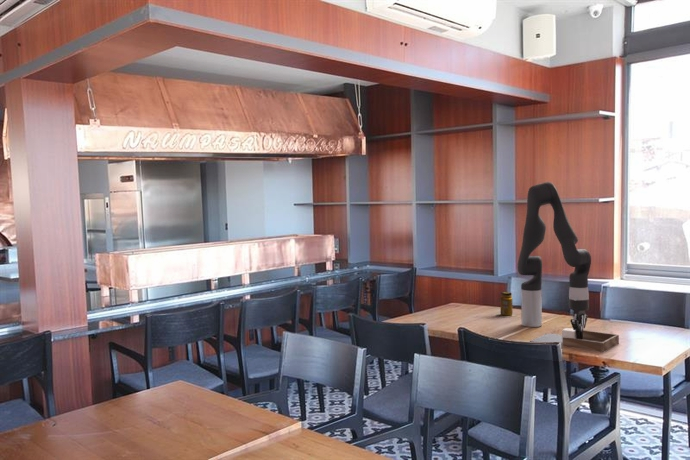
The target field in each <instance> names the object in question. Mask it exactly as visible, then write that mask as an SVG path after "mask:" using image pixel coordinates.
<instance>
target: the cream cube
mask: <svg viewBox="0 0 690 460" xmlns="http://www.w3.org/2000/svg"><path fill="white" fill-rule="evenodd" d="M561 335H562V342H563V337H568V338H574V339H576V331H575V330H573V327H571V328H570V327H565V328H563V329H562V330H561Z"/></svg>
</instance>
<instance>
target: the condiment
mask: <svg viewBox="0 0 690 460" xmlns="http://www.w3.org/2000/svg"><path fill="white" fill-rule="evenodd" d="M512 295H513V294H512V292H510V291H504V292H503V291H502V292H501V296H500V299H499V300H500V304H499V305H500V314H499V313H498V314H495V315H494V316H495V317H502V318H510V317H515V314H513V310H514V309H513V296H512Z"/></svg>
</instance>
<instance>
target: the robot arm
mask: <svg viewBox="0 0 690 460" xmlns="http://www.w3.org/2000/svg"><path fill="white" fill-rule="evenodd" d="M526 201H527V202H526V203H527V204H526V217H525V222H524V229H523V236H522V244H521V249H520V253H519V256H518V261H517V272H518V274H519V275H521V276H533V277H532V278H531V279H529V280H527V281H525V282H524V281H523V282H522V283H521V285H520V290H521V291H520V299H521V304H520V305H521V310H520V311H521V318H520V319H521V321H520V323H521V324H520V325H521V326H523V327H529V328H535V327H536V328H538V327H542V325H543V321H542V315H543V313H542V310H543V308H542V283H543V282H542V281H543V279H542V277H543V275H542V274H543V259H542V257H541V256H539V255H531V254H532V253H533V251H535V250H536V249H537V248H538V247H539V246H540V245H541V244H542V243H543V242H544V239H545V235H546V230H547V227H546V224H545V222H544V220H543V218H542V217H541V216H540V209H541V208H540V207H542V206H544V205H545V206H546V205H550V206H551V208H552V210H553V231H554V234H555V236H556V239H557V240H558V242H559V244H560V247H561V250H562V251H561V252H562V254H563V258H564V261H565V262H566V264H567V265H569V267H571V268H574V271H572V272H571V273H570V274H569V279H568V280H569V289H568V303H569V304H568V305H569V306H568V307H569V310H571V311H572V318H570V321H569V322H570V324H571V326H572V327H571V328H572V329H573V330H575V331H576V339H581V340H582V339H583V330H585V328H586V326H587V321H588V315H587V314H586V311H588V310H589V308H590V298H589V297H590V295H589V284H588V283H589V279H588V278H589V273H590V269H591V265H592V256H591V253H590V252H589V251H588V250H587V249H585V248H580V249H579V248H577V246H576V244H578V237H577V235H576V232H575V231H574V229H573V227H572V226H571V225H572V224H571V223H570V222H569V219H568V218H567V215H566V212H565V209H564V206H563V203H562V201H561V197H560V195H559V193H558V190H557V188H556V187H555V184H554V183H552V182H551V181H547V182H542V183H538V184H535V185H532V186H530V187H529V188H528V191H527V199H526Z"/></svg>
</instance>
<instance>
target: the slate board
mask: <svg viewBox="0 0 690 460" xmlns="http://www.w3.org/2000/svg"><path fill="white" fill-rule="evenodd" d="M582 340H588V341H595V342H603V341H596V340H589V339H582ZM530 342H533V343H540V342H560V343H561V347H566V348H568V347H567V346H563V342H562V334H558V333H549V332H547V333H545V334H543V335H541V336H538V337H536V338H533V339H531V340H529V343H530ZM618 345H619V344H617V345H615V346H613V347H611V348H610V349H608V350H606V351H604V352H603V353H605V352H607V351H609V350H611V349H612V348H614V347H616V346H618ZM571 348H572V349H573V347H571ZM577 349H579V350H581V349H580V348H577ZM584 350H585V351H587V350H586V349H584ZM590 351H592V352H593V350H590ZM596 352H598V353H600V352H599V351H596Z"/></svg>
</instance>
